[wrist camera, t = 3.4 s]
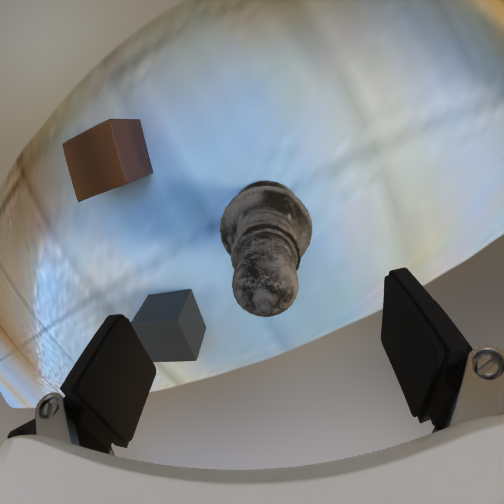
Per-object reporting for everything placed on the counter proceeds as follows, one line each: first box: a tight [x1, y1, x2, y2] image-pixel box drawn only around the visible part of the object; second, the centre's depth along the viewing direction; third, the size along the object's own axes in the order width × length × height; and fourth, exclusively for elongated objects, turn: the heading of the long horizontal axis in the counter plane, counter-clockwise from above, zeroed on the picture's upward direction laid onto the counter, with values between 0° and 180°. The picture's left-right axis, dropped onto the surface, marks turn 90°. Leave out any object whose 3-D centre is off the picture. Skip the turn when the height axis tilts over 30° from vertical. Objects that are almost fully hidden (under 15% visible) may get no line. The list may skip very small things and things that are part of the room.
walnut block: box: [63, 119, 153, 202], centre depth 17 cm, size 4×4×4 cm
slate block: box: [131, 289, 206, 362], centre depth 23 cm, size 4×4×4 cm
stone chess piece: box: [220, 181, 312, 317], centre depth 15 cm, size 6×6×12 cm
